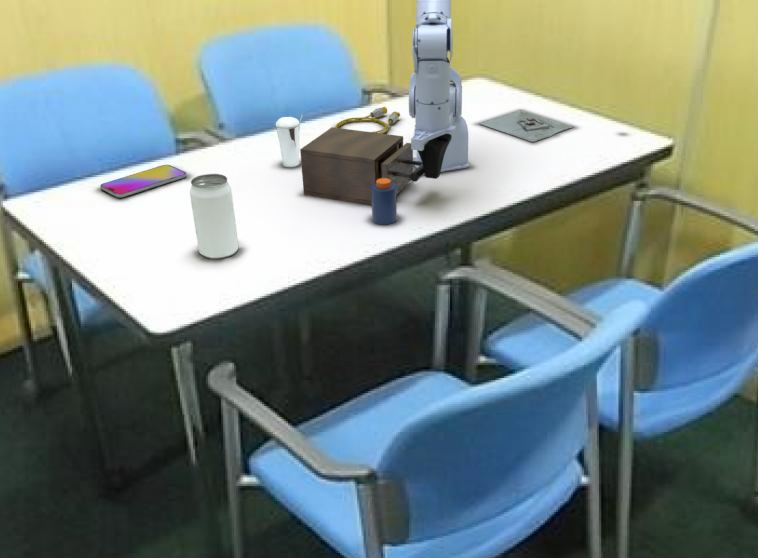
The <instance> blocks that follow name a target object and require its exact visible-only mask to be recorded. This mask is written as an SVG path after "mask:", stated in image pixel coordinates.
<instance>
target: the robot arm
mask: <svg viewBox="0 0 758 558" xmlns="http://www.w3.org/2000/svg"><path fill="white" fill-rule="evenodd" d="M415 8H416V10H415V11H416V12H415V27H413V28H412V34H411V35H412V36H411V37H412V38H411V53H412V59H413V68H414V69H413V70H414V71H413V72H412V73H411V76H410V77H409V86H408V115H409V116H410V117H411V118H412V119H415V120H414V121H415V122H414V123H415V124H414V128H413V135H412V137H411V138H410V143H411V149H412V150H413V151H416V157H413V161H420V162H422V164H423V168H424V172H425V174H424V175H425V178H427V179H433V180H438V179H439V177H440V175H441V173H442V172H448V171H455V170H460V169H466V168H469V167H470V164H469V128H468V124H467V121H466V120H465V118H464V117H463V116H462V115H463V84H462V82H463V80H462V79H463V78H462V75H461V74H460V72H459V71H458V70H456V69H455V68H454V67H453V66H451V62H452V59H453V54H454V52H453V51H454V29H453V24H452V23H453V22H452V0H416V7H415ZM448 53H449V54H448ZM448 55H449V57H448ZM413 167H415V168H416V169H417V168H418V167H419V165H413Z"/></svg>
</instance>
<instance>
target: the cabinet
mask: <svg viewBox="0 0 758 558" xmlns="http://www.w3.org/2000/svg"><path fill="white" fill-rule="evenodd" d="M373 132H374V131H364V130H356V129H348V128H342V127H339V128H335V126H334V127H333V126H331V127H330V128H328V129H327V130H326V131H324V132H322V133H321V134H320V135H319V136H317V137H316V138H314V139H313V140H311V141H310V142H309V143H306V145H304V146H302V147H301V148H299V154H300V163H301V164H300V166H301V175H302V186H303V187H302V188H303V189H302V190H303V195H304V196H311V197H317V198H323V199H329V200H335V201H343V202H349V203H354V204H355V203H356V204H362V205H369V206H372V198H371V186H372V185H373V184H375V183H376V181H377V165H376V162H377V161H378V160H380V159H381V158H382V157H383V156H384V155H386V154H387V153H388V152H389V151H391V150H392V149H393V148H394V147H395V146H397V145H398V144H399V149H400V148H401V147H402V146H403V145H404V135H397V134H396V135H395V134H389V133H384V134H381V132H378V133H373Z"/></svg>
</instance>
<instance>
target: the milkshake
mask: <svg viewBox="0 0 758 558" xmlns="http://www.w3.org/2000/svg"><path fill="white" fill-rule="evenodd" d="M302 118H303V113H301V116H300V119H297V118H296V117H293V116H282V117H280V118H279V119H278V120H277V121H276V122H275V129H276V133H277V138H278V143H279V148H280V155H281V160H282V165H283V167H284V168H285V167H286V168H297V167H298V166H300V129H301V127H300V126H301V120H302Z"/></svg>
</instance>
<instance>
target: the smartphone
mask: <svg viewBox="0 0 758 558" xmlns="http://www.w3.org/2000/svg"><path fill="white" fill-rule="evenodd" d="M186 177H187V172H186V171H184V170H182V169H179V168H178V167H175V166H173V165H170V164H162V165H159V166H157V167H152V168H150V169H149V168H148V169H146V170H142V171H140V172H139V171H138V172H136V173H133V174H130V175H126V176H123V177H119V178H116V179H114V180H109V181H106V182H104V183H101V184H100V190H102V191H104V192H106V193H108V194H110V195H112V196H113V197H115V198H125V197H129V196H132V195H135V194H138V193H140V192H144V191H147V190H150V189H153V188H156V187H159V186H163V185H165V184H169V183H171V182H175V181H178V180H182V179H185V178H186Z"/></svg>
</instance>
